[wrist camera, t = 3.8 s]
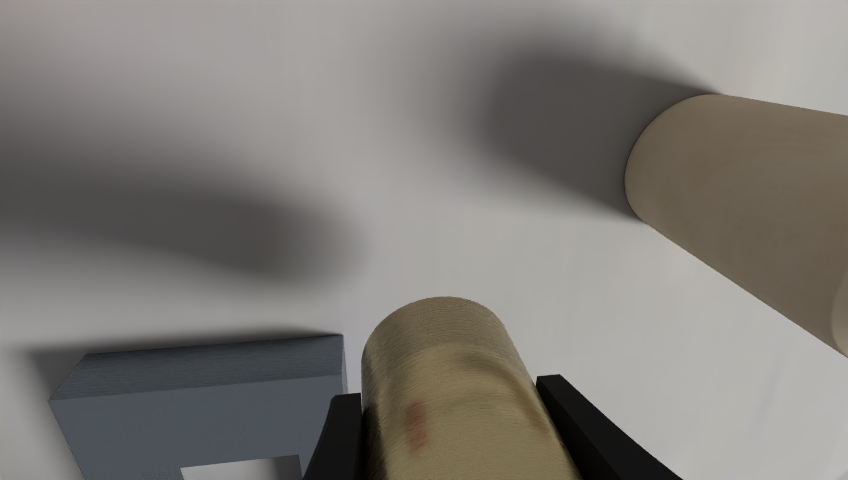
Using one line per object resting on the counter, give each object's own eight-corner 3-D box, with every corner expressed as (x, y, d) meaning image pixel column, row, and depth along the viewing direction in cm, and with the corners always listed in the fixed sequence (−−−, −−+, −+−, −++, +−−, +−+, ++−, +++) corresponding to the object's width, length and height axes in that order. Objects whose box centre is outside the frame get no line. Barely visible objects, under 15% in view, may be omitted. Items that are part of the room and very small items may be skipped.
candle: (616, 238, 18) (861, 432, 10) (628, 104, 16) (971, 197, 7) (738, 216, 19) (1082, 383, 10) (767, 82, 16) (1259, 144, 7)
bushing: (517, 291, 12) (646, 493, 7) (503, 409, 14) (597, 643, 9) (356, 302, 12) (358, 534, 6) (365, 424, 13) (371, 684, 8)
